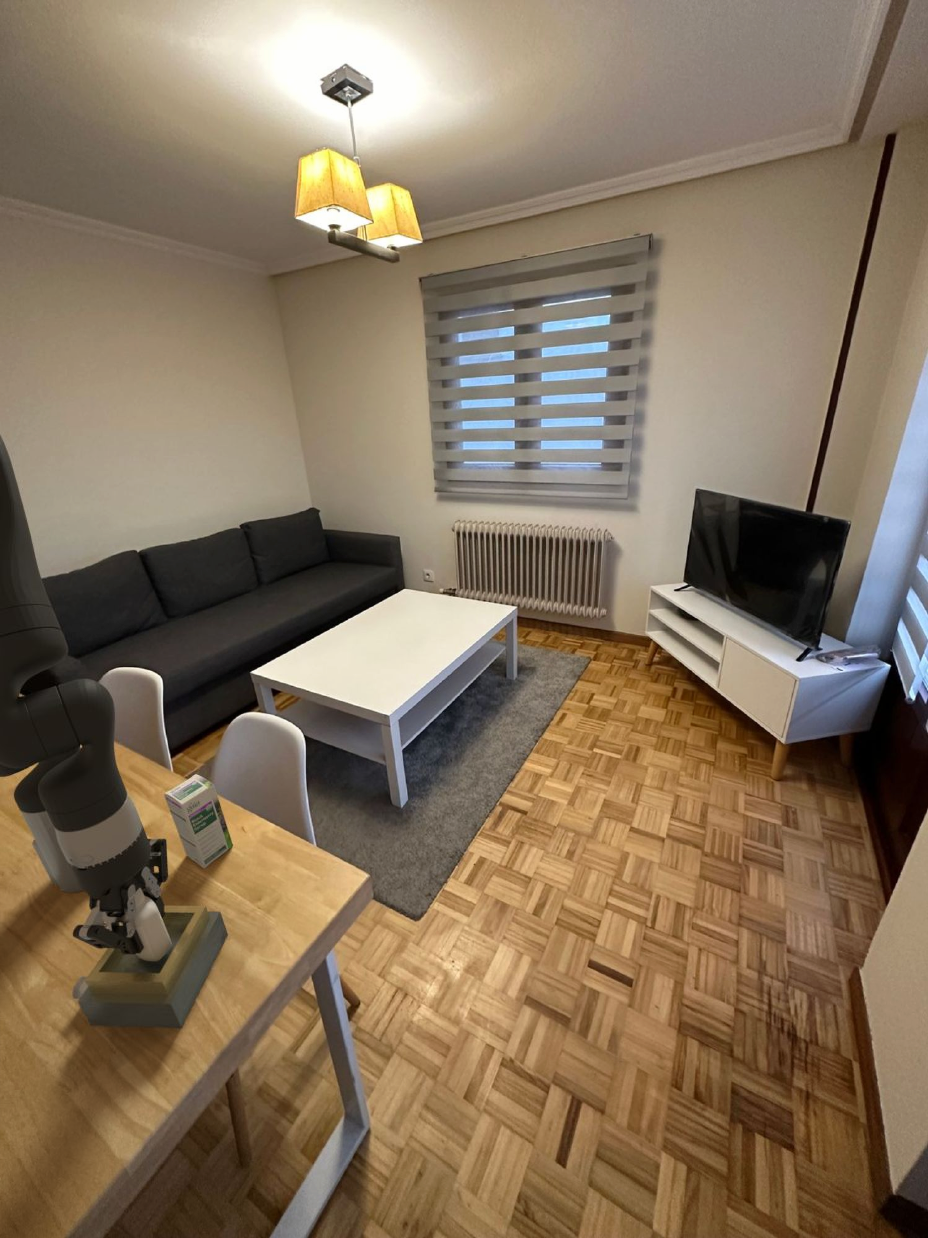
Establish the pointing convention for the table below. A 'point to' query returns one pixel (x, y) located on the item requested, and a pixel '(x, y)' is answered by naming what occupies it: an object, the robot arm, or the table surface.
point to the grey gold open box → (154, 975)
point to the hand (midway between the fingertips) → (146, 933)
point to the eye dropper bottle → (150, 928)
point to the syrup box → (199, 820)
